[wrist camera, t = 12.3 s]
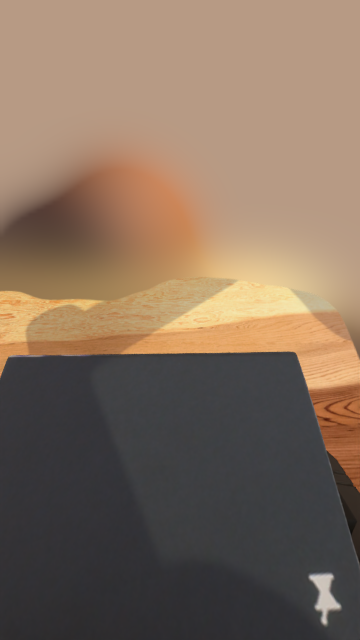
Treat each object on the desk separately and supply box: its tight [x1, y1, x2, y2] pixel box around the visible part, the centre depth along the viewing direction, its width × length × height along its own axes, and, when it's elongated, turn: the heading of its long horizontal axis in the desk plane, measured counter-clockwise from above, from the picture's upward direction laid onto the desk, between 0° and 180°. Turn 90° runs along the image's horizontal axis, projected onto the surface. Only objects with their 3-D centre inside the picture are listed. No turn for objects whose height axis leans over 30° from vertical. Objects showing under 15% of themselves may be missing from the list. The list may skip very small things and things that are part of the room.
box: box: [0, 352, 360, 640], centre depth 9 cm, size 8×6×11 cm
